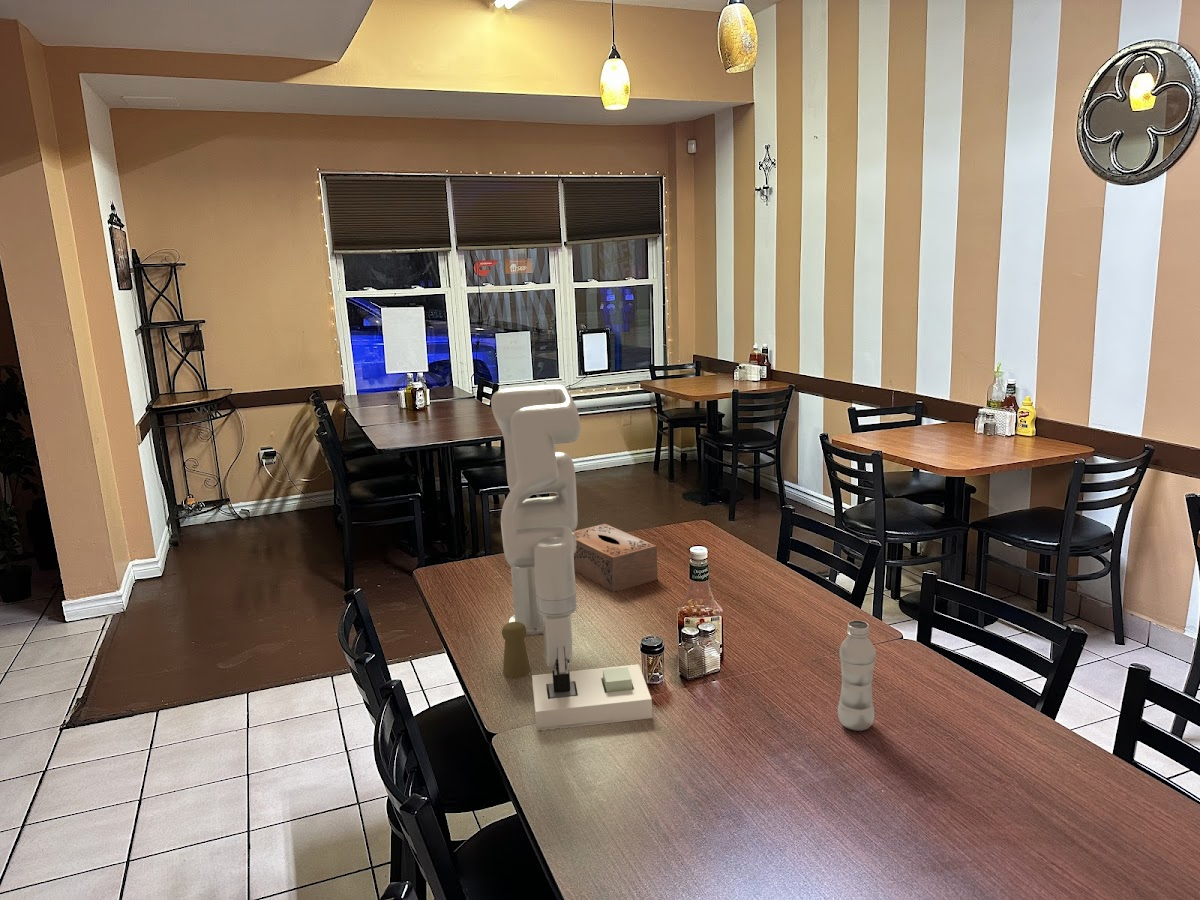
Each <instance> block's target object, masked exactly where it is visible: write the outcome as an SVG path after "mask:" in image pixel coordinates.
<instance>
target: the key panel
mask: <svg viewBox="0 0 1200 900" xmlns="http://www.w3.org/2000/svg"><path fill="white" fill-rule="evenodd" d="M625 667H628V670H629V673H630V676H631V679H632V690H626V691H617V692H608V693H606V691H605V688H604V684H603V670H606V669H615V668H625ZM569 673H570V682H573V683H574V688H575V693H576V696H571V697H562V698H553V699H549V689H548V684H553V673H551V672H550V673H543V674H534V675H533V674H532V675H531V680H532V681H531V682H532V695H533V703H534V704H533V706H534V714H535V715H534V716H535V726H536V731H537V732H539V731H538V730H542V731H547V730H546V729H551V730H556V729H555V728H560V729H566V728H567V729H568V727H569V728H574V727H575V728H577V727H585V726H594V725H603V724H610V723H611V724H612V723H621V722H629V721H637V720H647V719H653V699H652V696H651V693H650V691H649V688H648V685H647V683H646V680H645V677H644V674H643V672H642V670H641V667H640V664H639V663H638V664H630V665H620V666H609V667H600V668H590V669H580V670H572V671H571V670H569Z"/></svg>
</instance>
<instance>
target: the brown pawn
mask: <svg viewBox="0 0 1200 900" xmlns="http://www.w3.org/2000/svg"><path fill="white" fill-rule="evenodd" d="M501 635H502V638H503V640H504V653H503V665H502V675H503V676H504V677H506V678H509V679H522V678H524V677H527V676H528V675H530V673H531V672H532V667H531V664H530V659H529V653H528V650H527V644H526V640H525V638H526V636H527V635H526V627H525V625H524V624H523V623H520V622H510V623H509V622H507V623H505V624H504V625H503V627H502V629H501Z"/></svg>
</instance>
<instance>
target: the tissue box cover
mask: <svg viewBox="0 0 1200 900" xmlns="http://www.w3.org/2000/svg"><path fill="white" fill-rule="evenodd" d="M574 534H575V537H576V552H575V553H574V571H575V572H576V571H577V572H576V573H578V572H579V573H578V574H580V573H581V574H580V575H582V576H584V577H586V578H588V579H589V580H591V581H593V582H595V583H596V582H597V584H598V583H599V584H598V585H600V584H601V585H600V586H602V585H603V586H602V587H604V586H605V587H604V588H605V589H607V588H608V590H609V589H610V590H609V591H611V590H612V591H611V592H613V591H614V592H613V593H616V592H615V591H617V592H619V590H620V591H623V590H622V589H624V590H626V589H630V588H633V587H637V586H639V585H643V584H647V583H650V582H653V581H656V580H658V546H657V545H655V544H653V543H651V542H648V541H646V540H644V539H642V538H640V537H637V536H634V535H633V534H630V533H627V532H625V531H623V530H621V529H619V528H616V527H614V526H611V525H609V524H607V523H601V524H598V525H593V526H590V527H585V528H581V529H578V530H575V531H574Z"/></svg>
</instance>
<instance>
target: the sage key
mask: <svg viewBox="0 0 1200 900" xmlns="http://www.w3.org/2000/svg"><path fill="white" fill-rule="evenodd" d="M603 684H604V688H605V691H606V693H608V692H617V691H626V690H632V679H631V676H630V673H629V670H628V667H625V668H615V669H606V670H603Z"/></svg>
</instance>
